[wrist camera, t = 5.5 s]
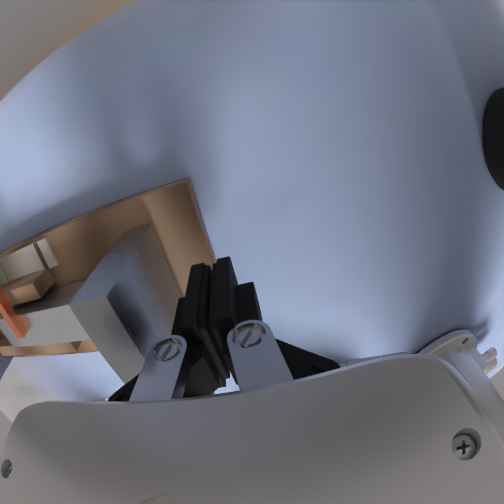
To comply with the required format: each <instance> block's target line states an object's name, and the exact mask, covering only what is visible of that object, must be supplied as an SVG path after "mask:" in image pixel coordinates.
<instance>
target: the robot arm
mask: <svg viewBox="0 0 504 504" xmlns="http://www.w3.org/2000/svg"><path fill="white" fill-rule="evenodd" d="M476 347H477V339H476V338H475V336H474V335H473V334H472V332H470V331H469V330H465V329H462V330H456V331H453V332H450V333H448V334H446V335H444V336H442V337H440V338H438V339H437V340H435V341H434V342H432V343H430V344H429V345H428V346H426V347H425V348H424V349H422V350H421V351H420V352H418V353H417V354H410V353H407V352H400V353H394V354H388V355H382V356H375V357H369V358H361V359H353V360H347V363H346V364H337V363H336V362H334V361H333V360H330V359H328V358H325V357H322V356H319V355H317V354H314V353H311V352H309V351H306V350H303V349H301V348H298V347H295V346H293V345H290V344H288V343H285V342H283V341H280V340H278V339H275V338H274V336H273V333H272V331H271V329H270V327H269V326H268V325H267V324H266V323H264V322H263V321H262V316H261V311H260V306H259V302H258V298H257V294H256V290H255V286H254V283H253V282H249V283H245V284H240V285H238V282H237V279H236V276H235V272H234V269H233V265H232V262H231V259H230V257H225V258H220V259H217V262H216V263H214V264H213V265H212V269H211V267H210V265H205V263H204V262H203V263H199V264H195V265H191V269H190V274H189V278H188V283H187V288H186V293H185V297H181V298H179V300H178V304H177V308H176V313H175V318H174V323H173V327H172V332H171V335H170V336H166V337H163V338H161V339H159V340H158V341H156V342H155V343H154V344H153V345H152V347H151V349H150V350H149V353H148V355H147V358H146V360H145V362H144V365H143V367H142V370H141V372H140V373H139V374H138V375H136V376H135V377H134V378H133V379H131V380H130V381H129V382H128V383H126V384H125V385H124V386H123V387H121V388H120V389H119V390H117V391H116V392H115V393H114V394H113V395H112V396H111V397H110V398H109V400H107V398H104V399H99V400H95V401H46V402H41V403H36V404H33V405H30V406H28V407H26V408H24V409H23V410H21V411H20V412H19V413H18V415H17V417H16V418H15V420H14V422H13V424H12V426H11V429H10V431H9V434H8V437H7V439H6V442H5V445H4V448H3V451H2V454H1V458H0V504H504V400H503V399H502V397H501V396H500V394H499V393H498V391H497V390H496V389H495V387H494V385H493V384H492V382H491V381H490V380H489V378H488V377H487V375H486V374H487V373H489V372H490V371H491V370H493V369H494V368H495V367H496V365H497V360H496V358H495V357H496V356H497V351H496V349H495V348H494V347H492V348H490V349H489V350H487V351H486V352H485V353H484V354H480V353H479V352H478V350H477V349H476ZM230 372H231V374H232V376H233V378H234V380H235V382H236V384H237V385H239V389H240V391H234V392H228V393H221V394H215V393H214V391H215V390H216V389H217V388H221V387H226V379H227V378H230Z"/></svg>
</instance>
